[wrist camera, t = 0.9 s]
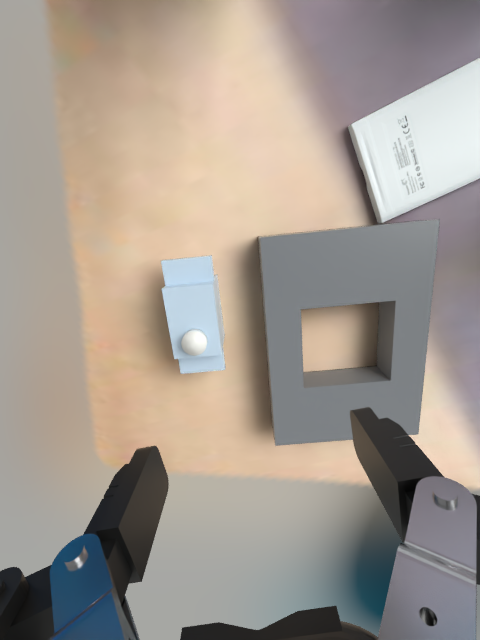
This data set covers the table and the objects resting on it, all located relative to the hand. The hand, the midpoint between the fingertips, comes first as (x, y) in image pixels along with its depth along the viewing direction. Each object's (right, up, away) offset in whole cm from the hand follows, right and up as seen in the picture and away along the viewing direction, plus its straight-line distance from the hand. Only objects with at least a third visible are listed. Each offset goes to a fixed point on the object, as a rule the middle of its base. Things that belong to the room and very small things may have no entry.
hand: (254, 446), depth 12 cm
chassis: (+9, +4, +17) cm, 19 cm away
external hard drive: (+15, +20, +13) cm, 28 cm away
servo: (-4, +6, +16) cm, 18 cm away
